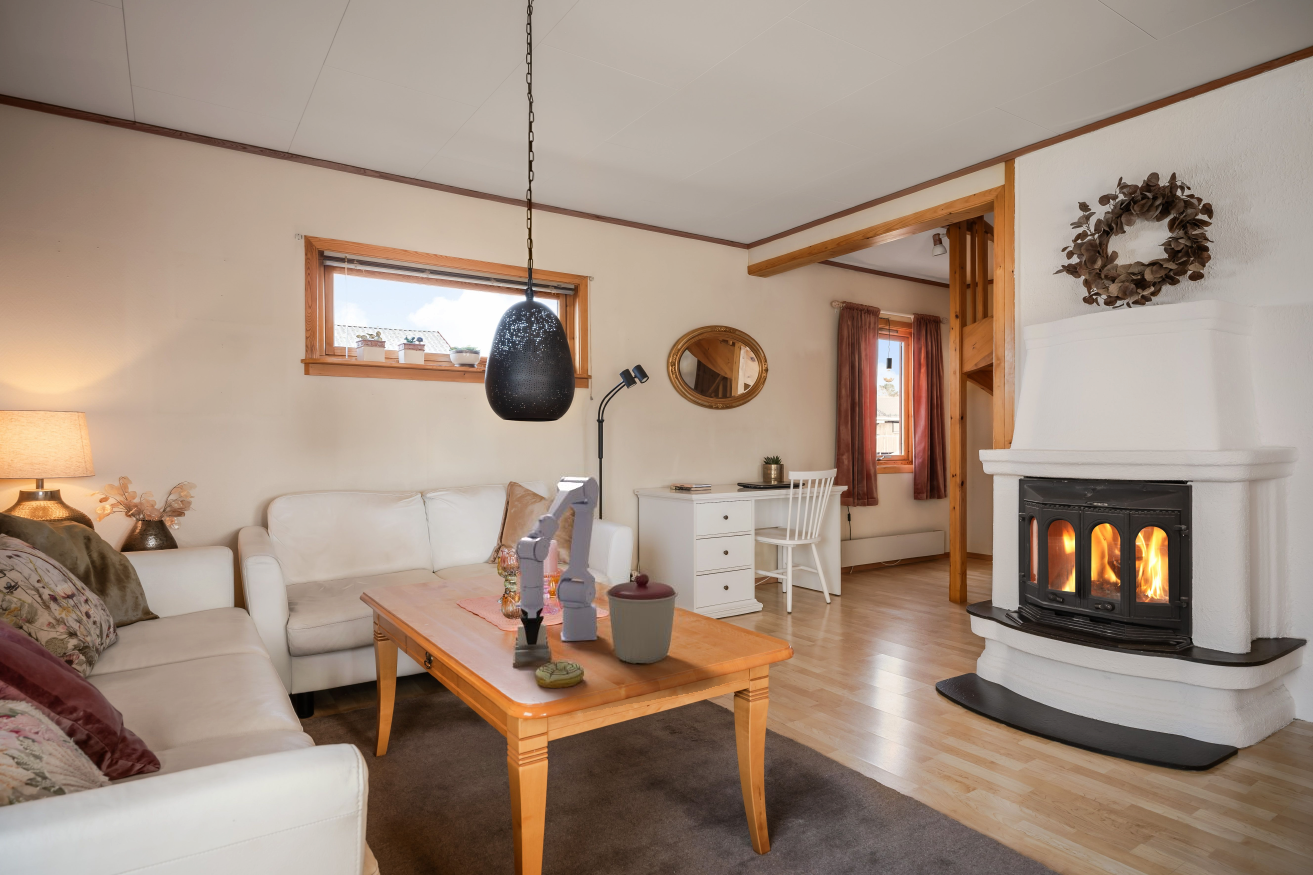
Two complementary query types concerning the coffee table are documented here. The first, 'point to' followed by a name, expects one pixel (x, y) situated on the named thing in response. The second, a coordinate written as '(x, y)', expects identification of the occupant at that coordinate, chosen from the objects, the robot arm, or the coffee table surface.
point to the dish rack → (531, 655)
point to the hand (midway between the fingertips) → (531, 639)
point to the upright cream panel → (522, 635)
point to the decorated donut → (559, 674)
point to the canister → (641, 619)
